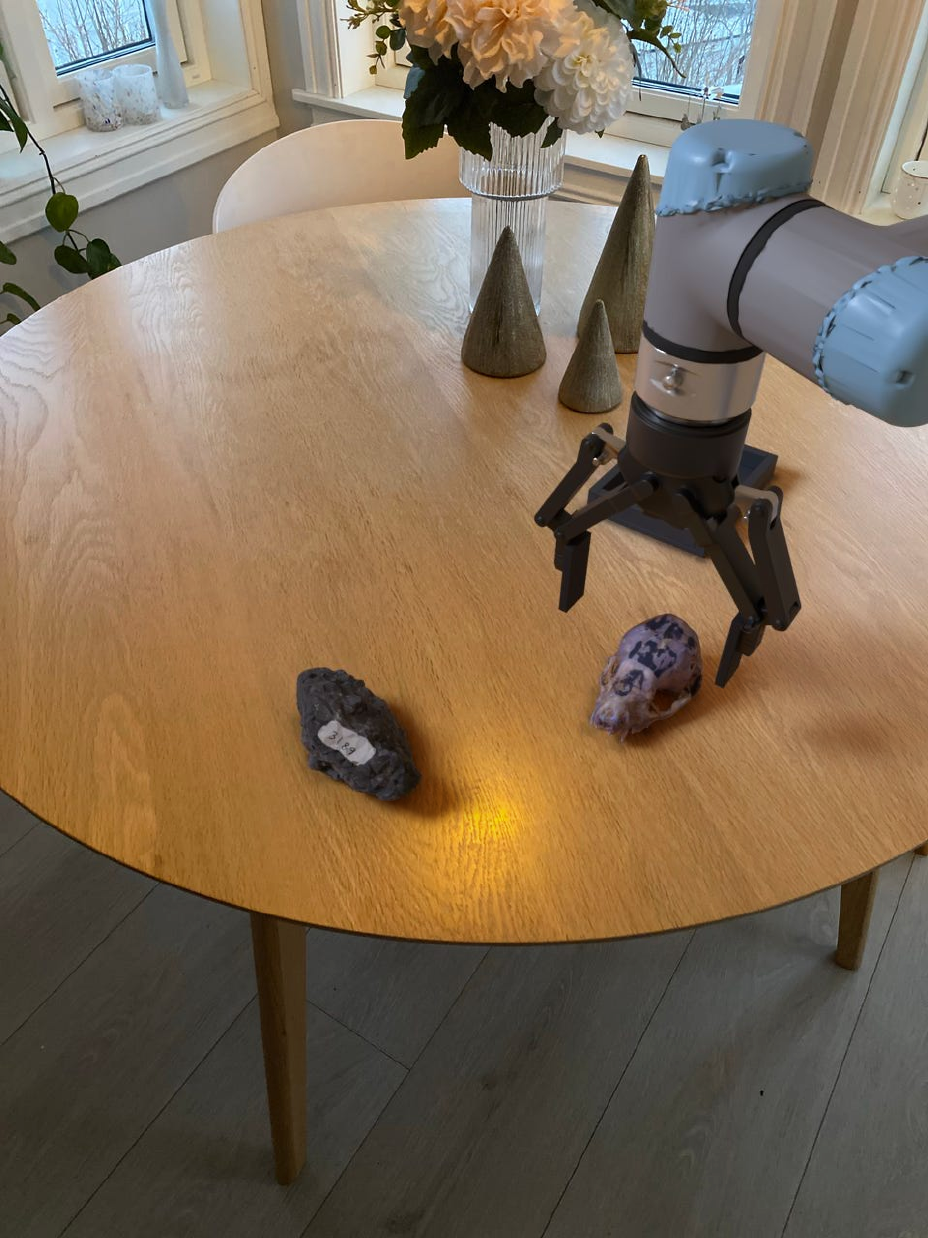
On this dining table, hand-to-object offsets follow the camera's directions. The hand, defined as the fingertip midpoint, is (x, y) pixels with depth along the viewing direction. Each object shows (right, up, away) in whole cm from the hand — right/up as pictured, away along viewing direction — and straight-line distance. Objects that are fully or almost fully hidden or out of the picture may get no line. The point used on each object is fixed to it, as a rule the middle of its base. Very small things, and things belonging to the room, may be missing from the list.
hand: (645, 637), depth 75 cm
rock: (-23, -9, 0) cm, 24 cm away
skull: (0, -5, +5) cm, 7 cm away
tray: (+9, +15, +25) cm, 30 cm away
